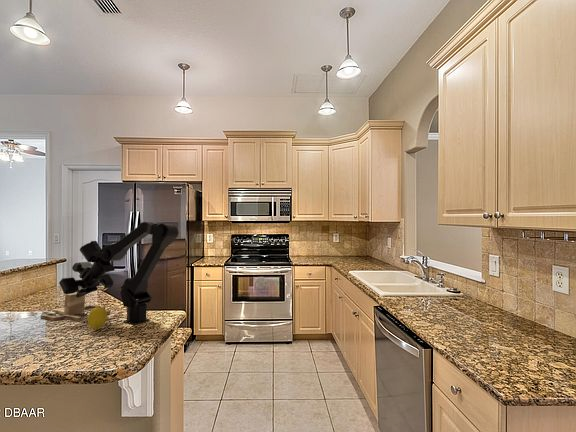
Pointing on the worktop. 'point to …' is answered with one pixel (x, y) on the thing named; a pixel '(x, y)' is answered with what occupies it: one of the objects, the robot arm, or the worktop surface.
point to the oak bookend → (72, 305)
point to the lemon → (97, 317)
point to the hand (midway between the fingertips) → (77, 296)
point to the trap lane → (52, 315)
